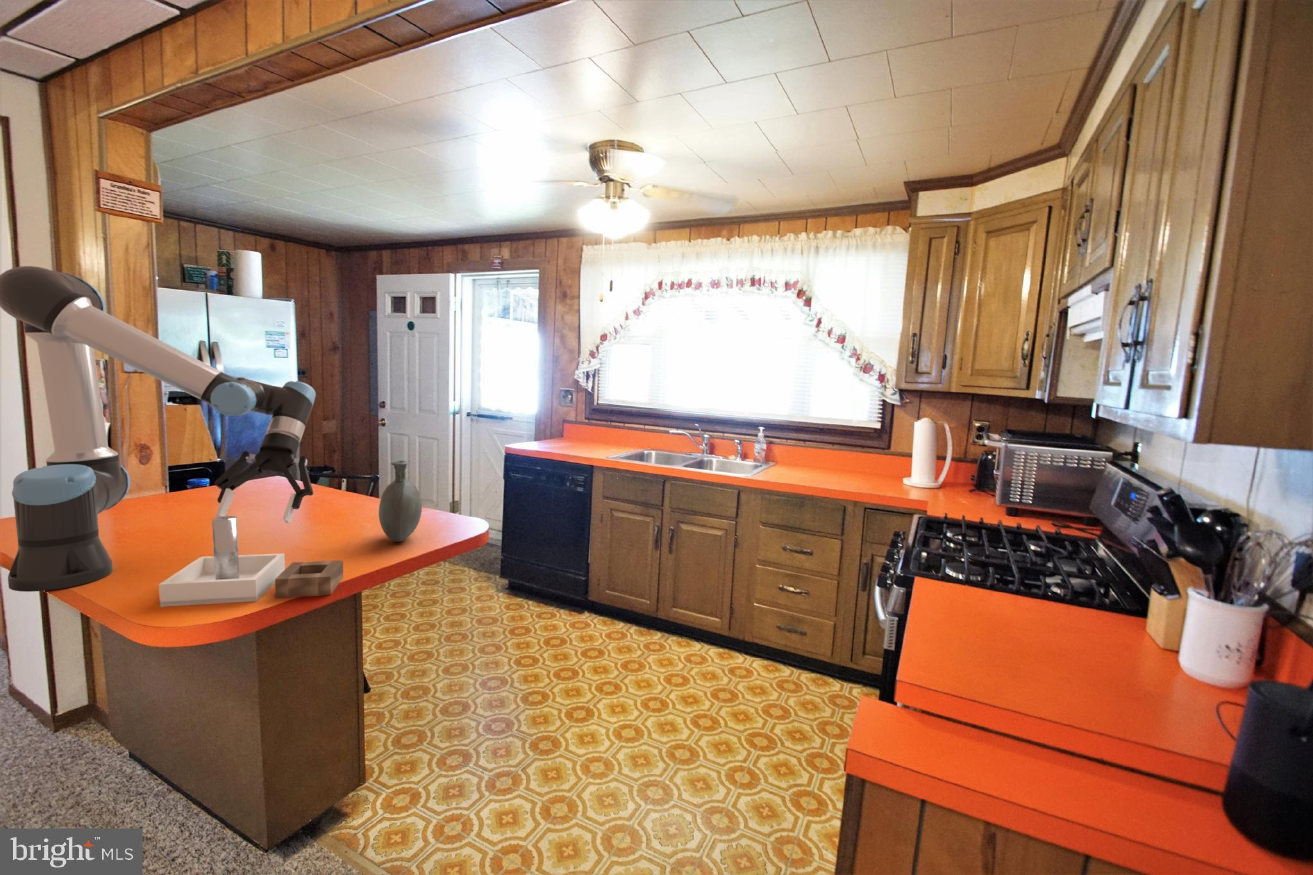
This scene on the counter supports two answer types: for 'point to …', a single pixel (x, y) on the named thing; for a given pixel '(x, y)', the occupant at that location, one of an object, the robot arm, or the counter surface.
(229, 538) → the steel pin
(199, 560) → the tray
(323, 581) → the socket block
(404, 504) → the flask
